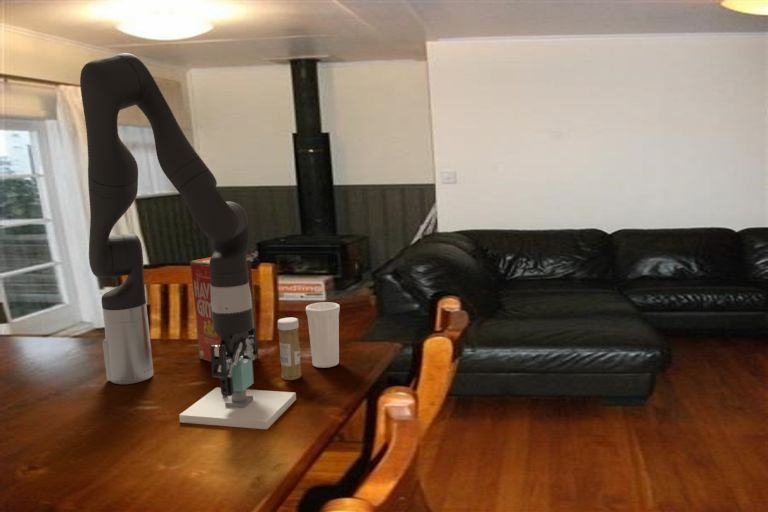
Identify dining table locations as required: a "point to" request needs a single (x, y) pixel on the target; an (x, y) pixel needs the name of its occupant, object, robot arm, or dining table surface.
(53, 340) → the dining table surface
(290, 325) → the sprinkles bottle
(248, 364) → the mint cube with tab
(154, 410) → the dining table surface
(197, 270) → the food packaging
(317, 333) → the cup
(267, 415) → the stud board
